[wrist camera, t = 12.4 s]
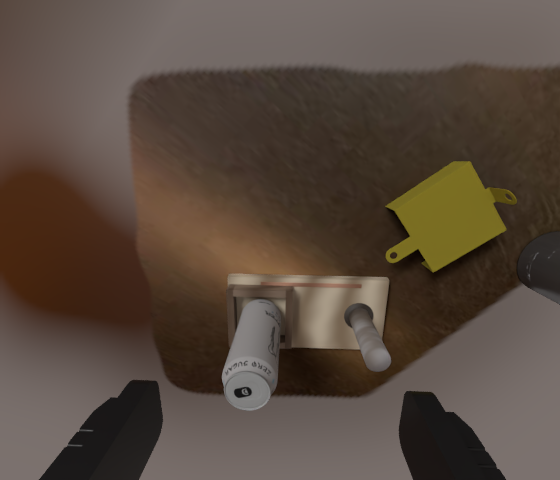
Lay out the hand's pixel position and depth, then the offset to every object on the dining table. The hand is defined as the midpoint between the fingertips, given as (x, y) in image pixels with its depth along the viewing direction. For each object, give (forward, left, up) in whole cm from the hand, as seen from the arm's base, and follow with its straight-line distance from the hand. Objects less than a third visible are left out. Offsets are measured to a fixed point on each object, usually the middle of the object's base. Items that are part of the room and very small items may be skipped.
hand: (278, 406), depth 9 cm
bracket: (-19, +1, -33) cm, 38 cm away
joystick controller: (-3, +15, -32) cm, 36 cm away
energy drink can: (+4, +15, -31) cm, 35 cm away
